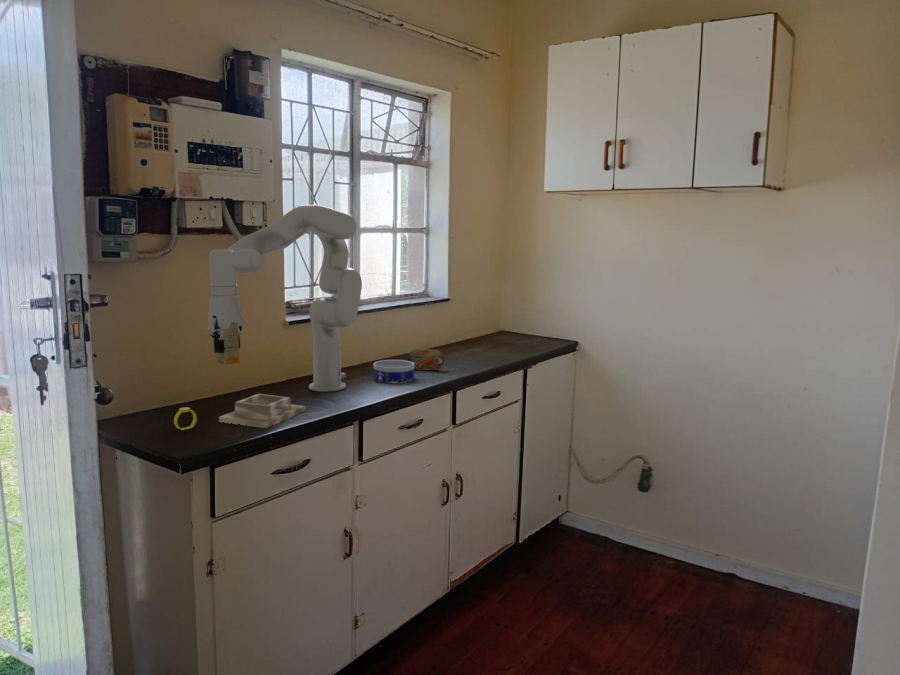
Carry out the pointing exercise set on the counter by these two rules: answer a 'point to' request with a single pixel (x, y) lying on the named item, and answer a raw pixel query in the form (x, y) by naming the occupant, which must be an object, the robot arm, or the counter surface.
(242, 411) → the socket board
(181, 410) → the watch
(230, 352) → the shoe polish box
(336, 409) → the counter surface
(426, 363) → the food package
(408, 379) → the dog bowl
